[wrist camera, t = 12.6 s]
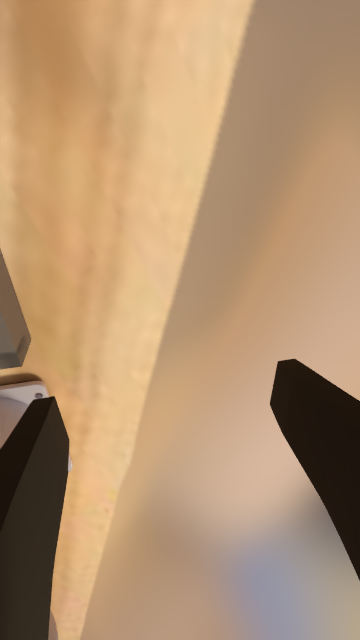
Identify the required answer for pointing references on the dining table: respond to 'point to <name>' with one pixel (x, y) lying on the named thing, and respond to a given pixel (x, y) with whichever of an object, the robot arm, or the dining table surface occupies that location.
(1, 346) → the grey divided tray
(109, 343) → the dining table surface
